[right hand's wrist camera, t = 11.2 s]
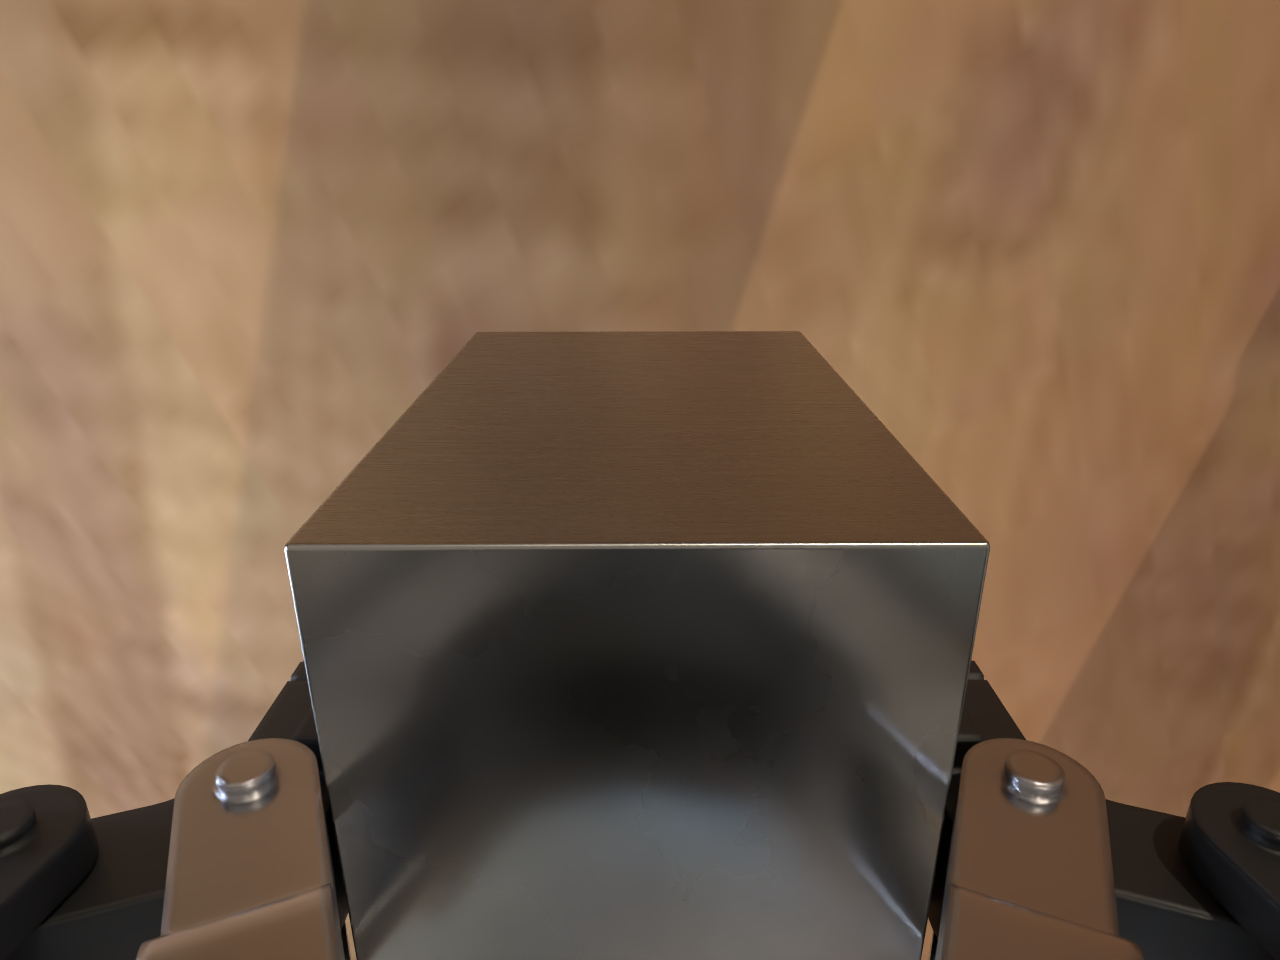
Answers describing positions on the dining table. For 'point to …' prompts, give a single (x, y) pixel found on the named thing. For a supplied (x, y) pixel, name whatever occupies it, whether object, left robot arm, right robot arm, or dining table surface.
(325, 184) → the dining table surface
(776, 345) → the bar
